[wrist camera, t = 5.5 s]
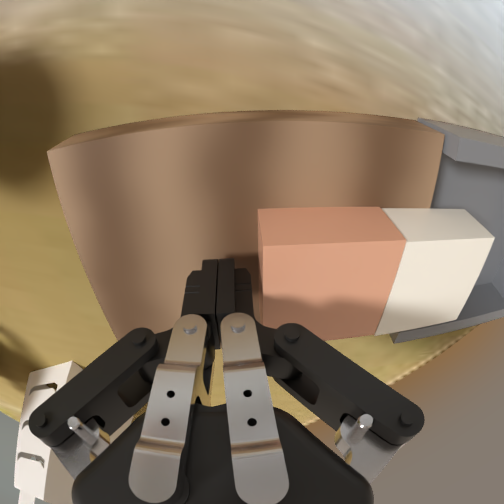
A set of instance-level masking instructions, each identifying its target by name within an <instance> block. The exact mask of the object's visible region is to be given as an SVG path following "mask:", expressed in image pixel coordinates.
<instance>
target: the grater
mask: <svg viewBox="0 0 504 504" xmlns="http://www.w3.org/2000/svg"><path fill="white" fill-rule="evenodd" d="M82 370H83V369H82V368H81V367H79V366H78V365H77V364H76V363H74V362H73V361H70V362H66V363H63V364H59V365H55V366H52V367H48V368H44V369H41V370H37V371H33V372H30V374H29V378H28V383H27V387H26V392H25V397H24V402H23V408H22V413H21V419H20V426H19V434H18V442H17V451H16V462H15V480H14V487H16V488H18V489H20V496H19V503H18V504H34V500H35V497H37V498H39V499H41V500H43V501H46V502H48V503H51V504H73V502H72V496H71V491H72V486H73V483H74V479H73V477H72V476H71V475H70V474H69V472H68V471H67V470H66V468H65V467H64V466H63V464H62V463H61V462H60V460H59V459H58V457H57V456H56V455H55V453H54V452H53V450H52V449H51V448H50V447H48V446H47V445H45V444H44V443H43V442H42V441H41V440H40V439H38V438H37V437H36V436H34V435H33V434H32V433H31V431H30V429H29V425H28V422H29V417H30V415H31V413H32V412H33V411H34V410H35V409H36V408H37V407H38V406H40V405H41V404H42V403H43V402H44V401H46V400H47V399H48V398H49V397H50V396H52V395H53V394H54V393H55V392H56V391H58V390H59V389H60V388H61V387H63V386H64V385H65V384H66V383H67V382H69V381H70V380H71V379H72V378H73V377H75V376H76V375H77V374H78V373H80V372H81V371H82ZM48 383H56V384H57V385H58V386H57V390H55V389H54V388H50V387H48V386H47V385H45V384H48ZM133 416H134V415H133ZM133 416H132V417H131V418H130V419H129V420H128V421H127V422H125V423H124V424H123V425H122V426H121V427H120V428H119V429H118V430H117V431H115V432H114V433H113V434H112V435H111V436H110V444H111V443H112V442H113V441H114V440H115V439H116V438H117V437H118V436H119V435H120V434H121V433H122V432H123V431H124V430H125V429H126V428H127V427H129V426H130V425H131V422H132V419H133ZM37 455H38V456H37ZM32 456H33V457H35V458H36V461H34V460H30V458H31V457H32ZM40 460H41V461H42V462H43V463H44V464H43V463H41V462H38V461H40Z"/></svg>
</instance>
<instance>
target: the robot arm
mask: <svg viewBox="0 0 504 504" xmlns="http://www.w3.org/2000/svg"><path fill="white" fill-rule="evenodd" d="M221 346H222V351H223V363H224V365H223V372H224V384H225V394H226V404H222V405H218V406H214V407H211V391H212V383H213V374H214V366H215V362H214V359H215V349H221ZM267 376H271V377H273V378H274V380H275V381H276V382H277V383H278V384H279V385H280V386H281V387H283V388H284V389H285V390H286V391H287V392H289V393H290V394H291V395H292V396H293V397H294V398H296V399H297V400H298V401H299V402H300V403H302V404H303V405H304V406H305V407H307V408H308V409H309V410H310V411H311V412H313V413H314V414H315V415H316V416H318V417H319V418H320V419H321V420H323V421H324V422H325V423H327V424H328V425H329V426H330V427H332V428H333V429H334V430H335V431H337V432H336V434H335V438H334V441H335V445H336V447H337V448H338V449H339V451H340V452H341V453H342V454H343V456H344V458H345V461H344V460H343V459H342V458H340V457H339V456H338V455H337V454H335V453H334V452H333V451H332V450H331V449H330V448H328V447H327V446H326V445H325V444H324V443H323V442H321V441H320V440H319V439H318V438H317V437H315V436H314V435H313V434H312V433H311V432H310V431H309V430H308V429H307V428H305V427H304V426H303V425H302V424H301V423H300V422H299V421H298V420H297V419H295V418H294V417H293V416H292V415H290V414H289V413H287V412H285V411H283V410H281V409H278V408H276V407H273V405H272V400H271V395H270V390H269V385H268V380H267ZM148 401H149V402H148ZM147 402H148V406H147V410H146V412H145V413H143V414H142V415H140V416H139V417H138V418H137V419H136V420H135V421H134V422H133V423H132V424H131V425H130V426H129V427H127V428H126V429H125V430H124V431H123V432H122V433H121V434H120V435H119V436H118V437H117V438H116V439H115V440H114V441H113V442H112V443H111V444H110V436H111V435H112V434H113V433H114V432H115V431H117V430H118V429H119V428H120V427H121V426H122V425H123V424H124V423H125V422H127V421H128V420H129V419H130V418H131V417H132V416H133V415H134V414H135V413H136V412H138V411H139V410H140V409H141V408H142V407H143V406H144V405H145V404H146V403H147ZM28 425H29V429H30V431H31V433H32V434H33V435H34V436H36V437H37V438H38V439H40V440H41V441H42V442H43V443H44V444H45V445H47V446H48V447H50V448H51V449H52V450H53V452H54V453H55V455H56V456H57V457H58V459H59V460H60V462H61V463H62V464H63V466H64V467H65V468H66V470H67V471H68V472H69V474H70V475H71V476H72V477H73V479H74V483H73V486H72V491H71V496H72V502H73V504H373V503H374V495H373V491H372V488H371V486H370V483H371V482H372V481H373V480H374V479H375V478H376V477H377V475H378V474H379V473H380V472H381V471H382V469H383V468H384V467H385V465H386V464H387V463H388V462H389V460H390V459H391V458H392V457H393V456H394V454H395V453H396V452H397V451H398V450H399V449H400V448H401V447H402V446H404V445H405V444H406V443H407V442H408V441H409V440H411V439H412V438H413V437H414V436H415V435H416V434H417V433H419V431H420V430H421V429H422V427H423V425H424V414H423V412H422V410H421V409H420V408H419V407H418V406H417V405H416V404H414V403H413V402H411V401H410V400H408V399H407V398H405V397H404V396H402V395H401V394H399V393H398V392H396V391H395V390H393V389H392V388H390V387H389V386H388V385H386V384H385V383H383V382H382V381H380V380H379V379H377V378H376V377H374V376H373V375H372V374H370V373H369V372H367V371H366V370H364V369H363V368H361V367H360V366H359V365H357V364H356V363H354V362H353V361H351V360H350V359H349V358H347V357H346V356H344V355H343V354H341V353H340V352H339V351H337V350H336V349H334V348H333V347H332V346H330V345H329V344H327V343H326V342H325V341H323V340H322V339H320V338H319V337H318V336H316V335H315V334H313V333H312V332H311V331H309V330H308V329H306V328H305V327H304V326H302V325H300V324H297V323H286V324H283V325H281V326H279V327H278V328H277V329H274V328H269V327H266V326H263V325H262V324H260V323H259V322H258V321H257V320H256V319H255V316H254V309H253V297H252V284H251V274H250V273H249V272H248V270H247V269H246V268H236V269H235V260H234V258H224V259H219V260H218V259H205V260H203V261H202V269H201V270H196V271H192V272H191V273H190V275H189V276H188V277H187V281H186V287H185V294H184V298H183V305H182V311H181V317H180V318H179V319H178V320H177V321H176V322H175V324H174V326H173V328H171V329H169V330H167V331H164V332H160V333H156V334H154V332H153V331H152V330H150V329H148V328H144V327H141V328H136V329H133V330H131V331H130V332H129V333H127V334H126V335H125V336H124V337H122V338H121V339H120V340H119V341H118V342H116V343H115V344H114V345H113V346H111V347H110V348H109V349H108V350H106V351H105V352H104V353H103V354H102V355H100V356H99V357H98V358H97V359H95V360H94V361H93V362H92V363H90V364H89V365H88V366H87V367H86V368H84V369H83V370H82V371H81V372H80V373H78V374H77V375H76V376H75V377H73V378H72V379H71V380H70V381H69V382H67V383H66V384H65V385H64V386H63V387H61V388H60V389H59V390H58V391H56V392H55V393H54V394H53V395H52V396H50V397H49V398H48V399H47V400H46V401H44V402H43V403H42V404H41V405H40V406H38V407H37V408H36V409H35V410H34V411H33V412H32V413H31V415H30V417H29V422H28Z"/></svg>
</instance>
